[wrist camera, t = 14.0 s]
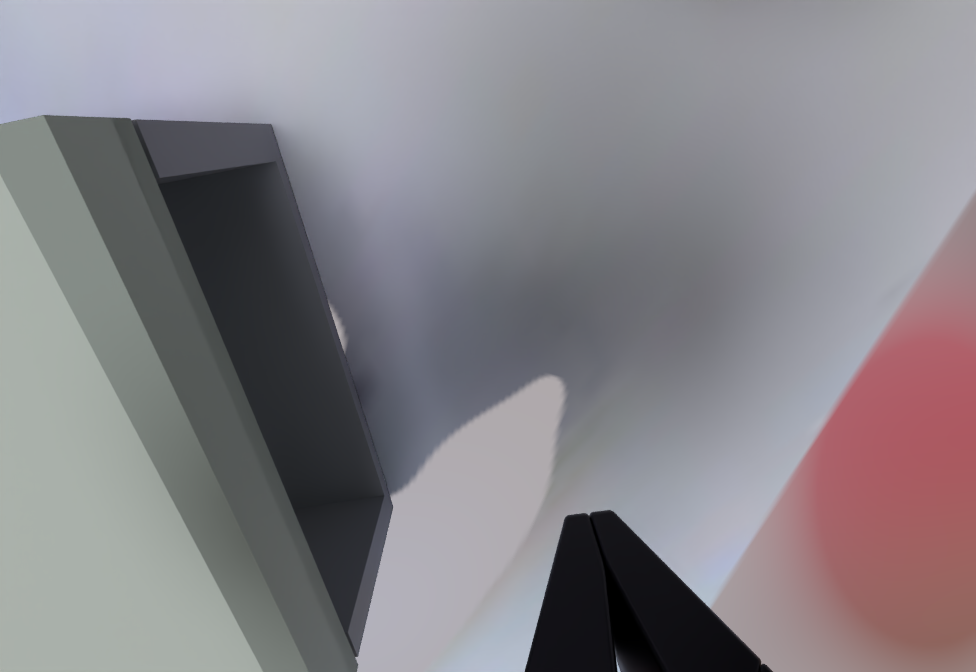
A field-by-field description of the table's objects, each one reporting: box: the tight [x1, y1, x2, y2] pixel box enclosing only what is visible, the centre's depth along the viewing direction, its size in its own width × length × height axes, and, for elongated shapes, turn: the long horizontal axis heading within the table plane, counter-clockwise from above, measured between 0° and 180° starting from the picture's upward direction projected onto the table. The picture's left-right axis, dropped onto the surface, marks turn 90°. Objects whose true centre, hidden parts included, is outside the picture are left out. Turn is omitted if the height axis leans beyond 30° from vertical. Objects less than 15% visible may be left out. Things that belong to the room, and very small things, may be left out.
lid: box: [0, 115, 358, 672], centre depth 13 cm, size 13×17×2 cm
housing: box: [131, 120, 393, 657], centre depth 17 cm, size 13×17×7 cm
